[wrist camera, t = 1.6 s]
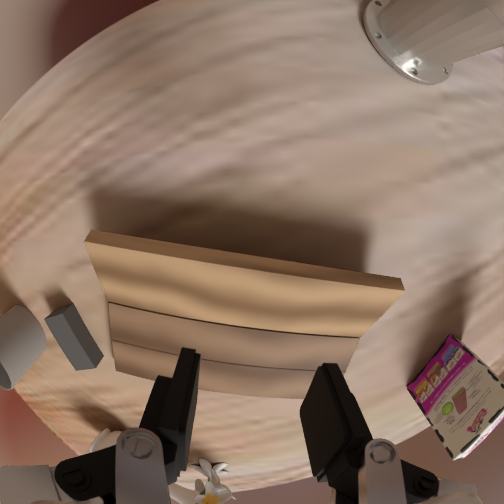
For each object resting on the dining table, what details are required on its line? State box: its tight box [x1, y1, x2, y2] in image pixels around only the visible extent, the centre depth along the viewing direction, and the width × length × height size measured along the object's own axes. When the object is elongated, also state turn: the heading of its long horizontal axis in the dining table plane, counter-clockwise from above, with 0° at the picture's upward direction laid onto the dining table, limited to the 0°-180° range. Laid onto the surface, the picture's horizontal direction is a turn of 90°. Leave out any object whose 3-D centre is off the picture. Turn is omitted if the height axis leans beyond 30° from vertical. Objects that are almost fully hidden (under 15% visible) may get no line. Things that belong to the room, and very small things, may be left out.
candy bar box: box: [407, 334, 504, 460], centre depth 25 cm, size 11×5×16 cm, turn 150°
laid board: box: [108, 302, 360, 399], centre depth 29 cm, size 10×28×2 cm, turn 80°
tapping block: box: [44, 303, 104, 371], centre depth 28 cm, size 8×4×3 cm, turn 18°
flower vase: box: [88, 428, 235, 504], centre depth 30 cm, size 13×18×25 cm
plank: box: [84, 230, 405, 337], centre depth 24 cm, size 9×28×2 cm, turn 80°
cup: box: [0, 304, 47, 390], centre depth 24 cm, size 8×8×10 cm
